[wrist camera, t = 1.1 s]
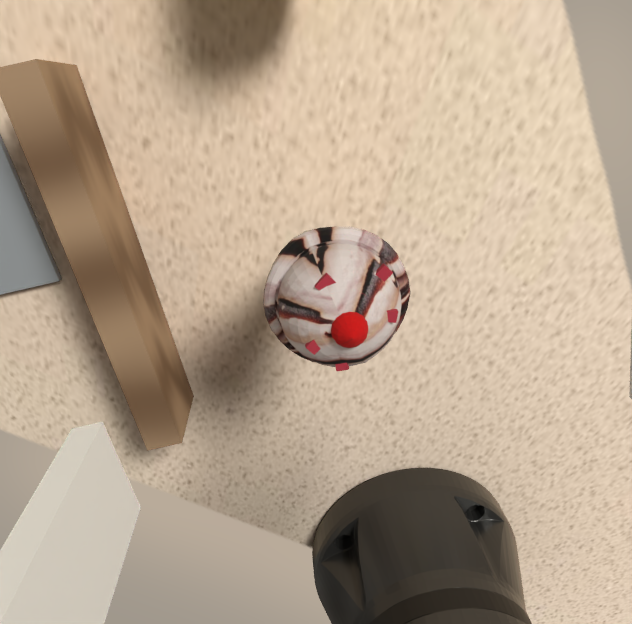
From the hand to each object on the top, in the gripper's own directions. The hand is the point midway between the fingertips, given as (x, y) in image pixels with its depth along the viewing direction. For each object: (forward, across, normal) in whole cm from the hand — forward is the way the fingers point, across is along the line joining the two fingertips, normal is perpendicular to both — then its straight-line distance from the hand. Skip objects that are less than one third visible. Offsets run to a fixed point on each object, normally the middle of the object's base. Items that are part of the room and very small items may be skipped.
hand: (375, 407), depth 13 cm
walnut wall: (+19, +11, -1) cm, 22 cm away
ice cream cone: (+20, 0, 0) cm, 20 cm away
